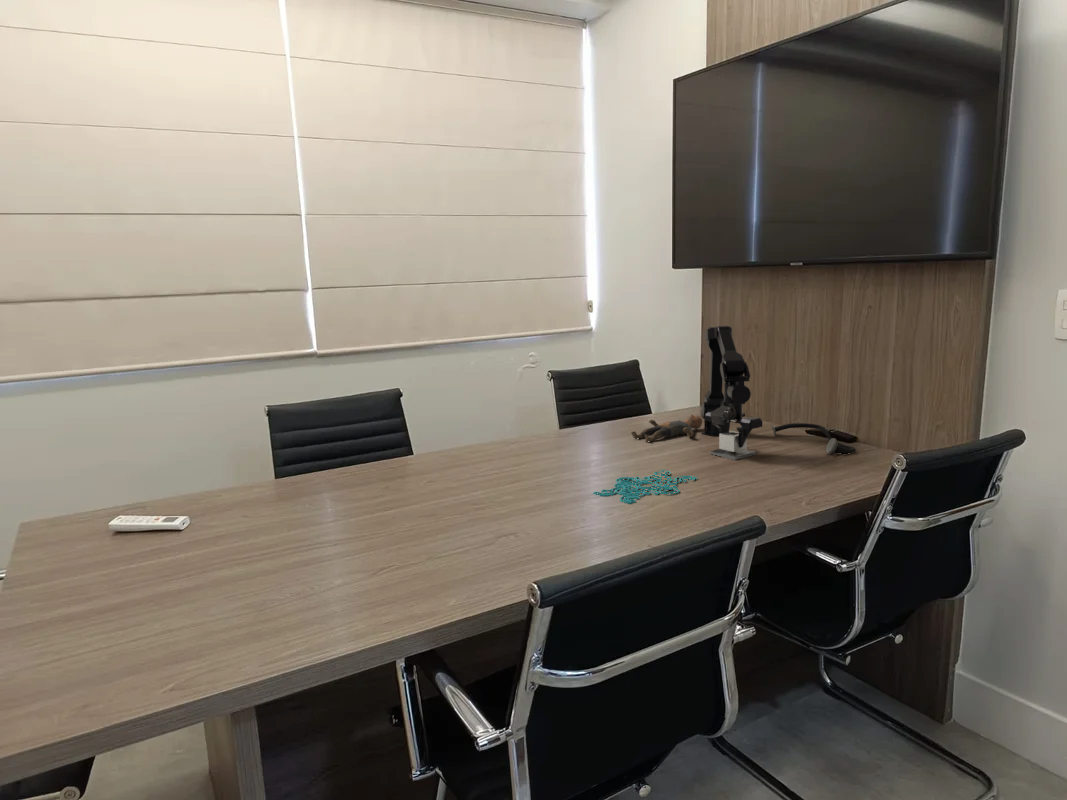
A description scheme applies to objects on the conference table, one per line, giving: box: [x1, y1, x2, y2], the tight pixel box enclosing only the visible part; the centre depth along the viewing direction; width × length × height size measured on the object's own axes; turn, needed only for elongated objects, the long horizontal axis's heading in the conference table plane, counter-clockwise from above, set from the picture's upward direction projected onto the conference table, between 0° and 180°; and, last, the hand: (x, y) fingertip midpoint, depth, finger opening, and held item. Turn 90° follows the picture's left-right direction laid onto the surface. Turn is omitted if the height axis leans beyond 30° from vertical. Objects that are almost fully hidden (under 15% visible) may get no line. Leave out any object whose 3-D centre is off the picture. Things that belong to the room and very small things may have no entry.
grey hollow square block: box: [718, 430, 748, 452], centre depth 221 cm, size 6×6×5 cm
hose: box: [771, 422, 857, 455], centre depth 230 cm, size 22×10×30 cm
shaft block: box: [709, 448, 757, 461], centre depth 221 cm, size 10×10×5 cm
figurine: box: [631, 414, 703, 443], centre depth 252 cm, size 20×6×30 cm
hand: (732, 445), depth 221 cm, fingers closed on grey hollow square block, 6 cm apart
